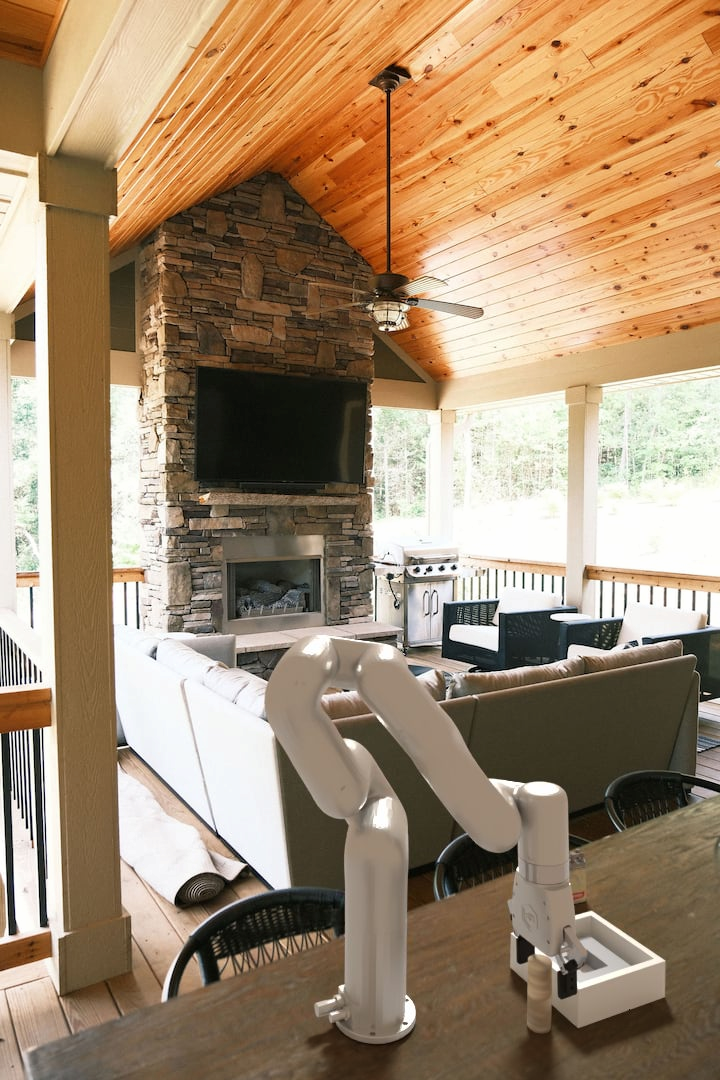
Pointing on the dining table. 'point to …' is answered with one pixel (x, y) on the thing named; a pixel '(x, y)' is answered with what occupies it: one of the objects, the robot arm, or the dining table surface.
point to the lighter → (577, 875)
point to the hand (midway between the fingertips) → (545, 978)
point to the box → (604, 973)
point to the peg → (539, 993)
